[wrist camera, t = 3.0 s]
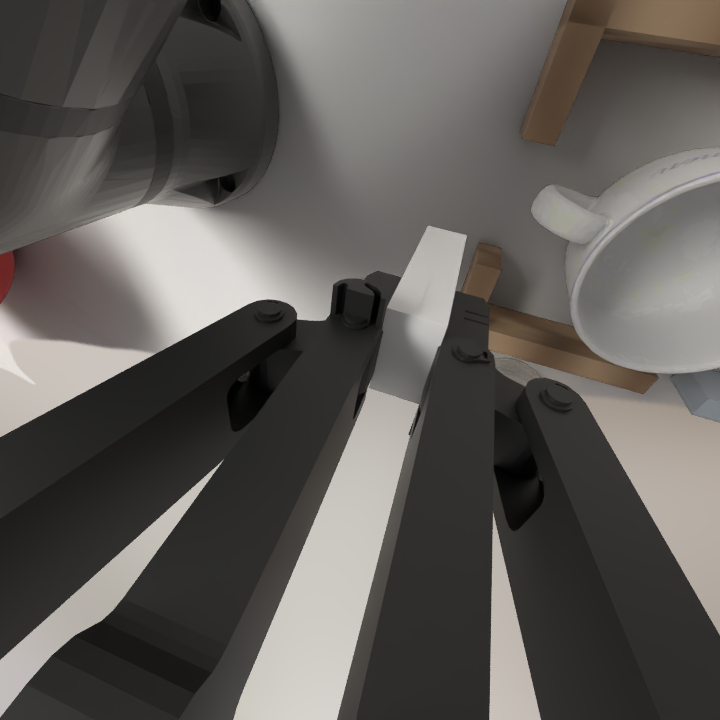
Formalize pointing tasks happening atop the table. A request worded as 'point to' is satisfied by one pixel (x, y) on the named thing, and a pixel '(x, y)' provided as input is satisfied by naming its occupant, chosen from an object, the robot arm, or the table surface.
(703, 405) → the dock
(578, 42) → the wooden u-shaped bracket
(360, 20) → the table surface
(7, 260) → the mixing bowl
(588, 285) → the teacup
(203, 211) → the table surface
